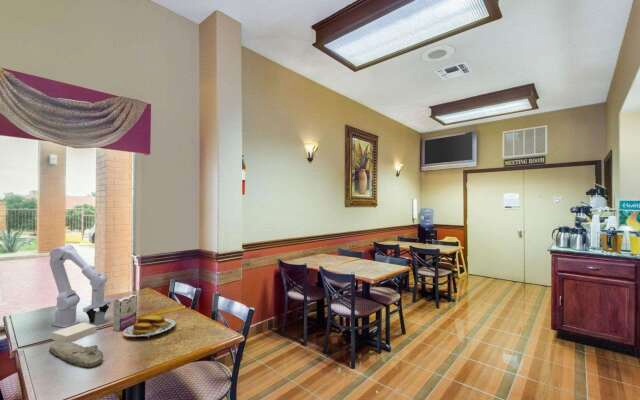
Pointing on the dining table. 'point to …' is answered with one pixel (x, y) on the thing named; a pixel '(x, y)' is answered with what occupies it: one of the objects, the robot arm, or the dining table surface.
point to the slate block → (98, 318)
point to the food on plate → (149, 326)
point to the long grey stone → (77, 353)
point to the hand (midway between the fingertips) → (96, 320)
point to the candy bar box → (124, 312)
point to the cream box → (74, 332)
